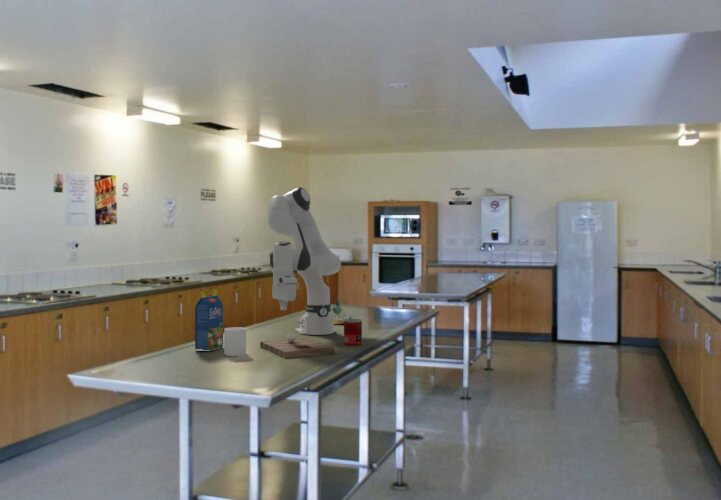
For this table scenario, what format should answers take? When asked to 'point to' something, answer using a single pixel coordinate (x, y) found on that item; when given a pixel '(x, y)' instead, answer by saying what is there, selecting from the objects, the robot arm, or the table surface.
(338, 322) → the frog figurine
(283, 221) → the robot arm
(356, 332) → the canned food
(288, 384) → the table surface
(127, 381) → the table surface
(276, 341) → the board
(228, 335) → the mug
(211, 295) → the blue food package
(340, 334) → the table surface
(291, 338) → the ball
